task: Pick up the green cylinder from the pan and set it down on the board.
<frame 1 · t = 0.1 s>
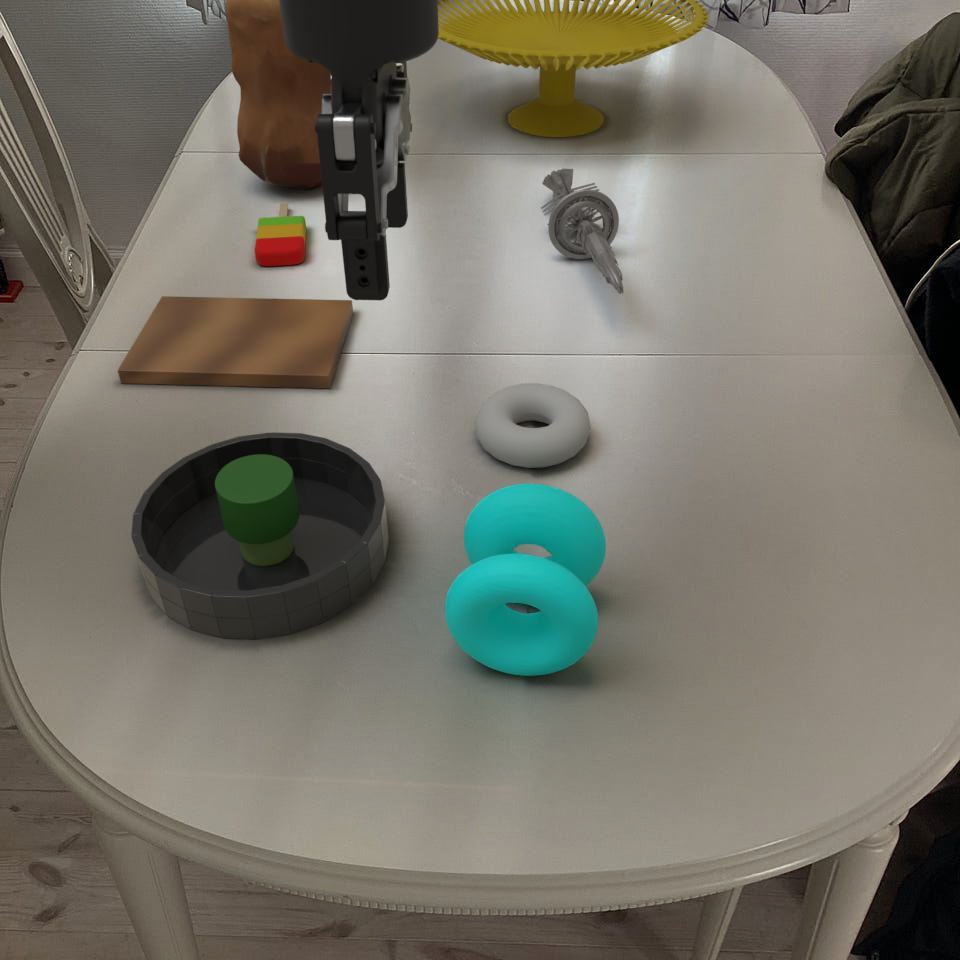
hand: (379, 259, 57), 27 cm above the table, tool pointing down, fingers open, 8 cm apart
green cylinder: (267, 548, 78), resting on pan
popsicle: (283, 238, 120), on the table
pan: (268, 550, 78), on the table
butternut squash: (299, 185, 131), on the table
spaceship: (582, 259, 115), on the table
donuts: (526, 630, 72), on the table
board: (242, 346, 101), on the table
donut: (532, 441, 89), on the table
cake stand: (555, 120, 148), on the table
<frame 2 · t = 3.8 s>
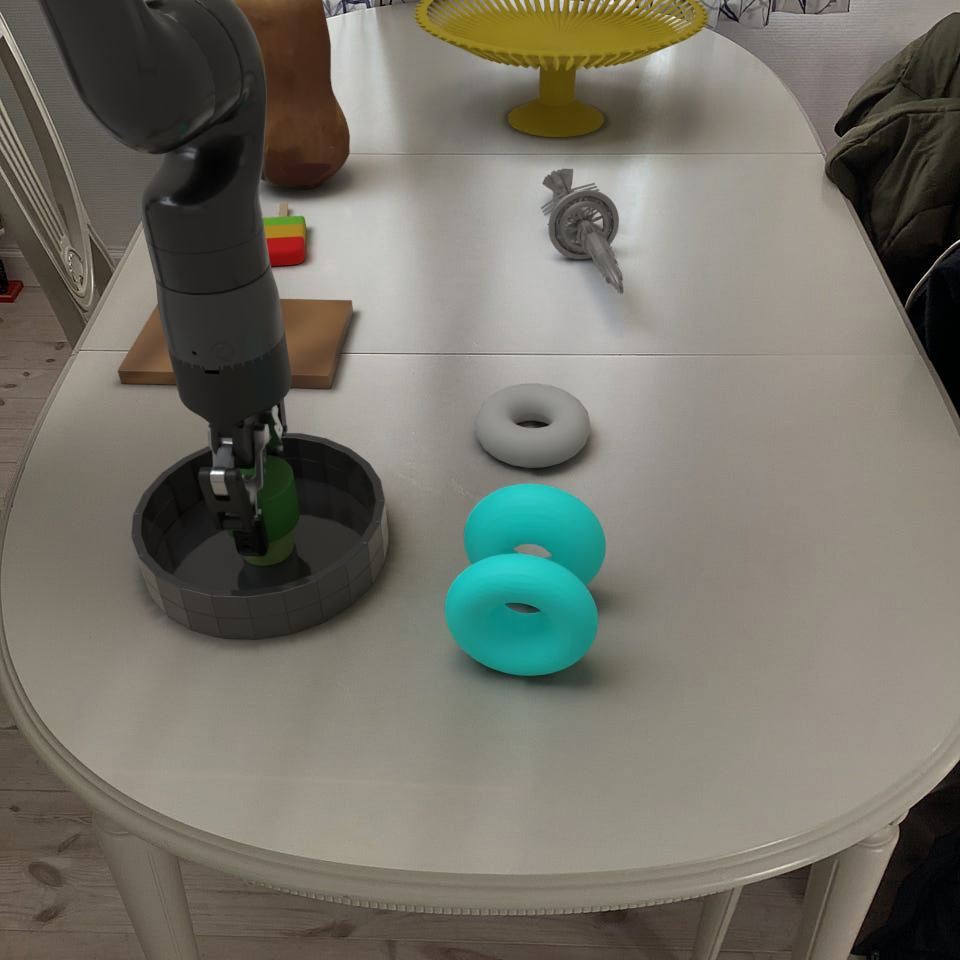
hand: (263, 523, 76), 3 cm above the table, tool pointing down, fingers closed on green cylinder, 5 cm apart
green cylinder: (267, 548, 78), resting on pan, touching gripper
everything else where it was.
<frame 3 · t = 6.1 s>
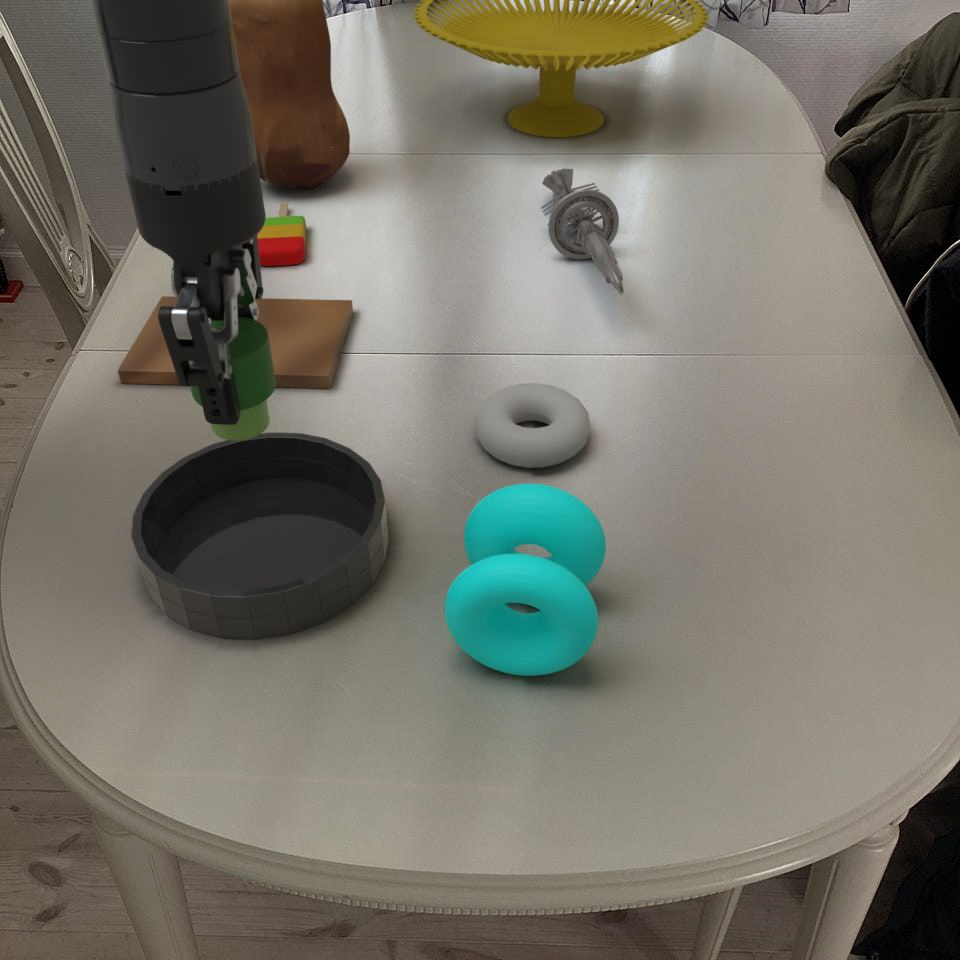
hand: (235, 393, 69), 14 cm above the table, tool pointing down, fingers closed on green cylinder, 5 cm apart
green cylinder: (240, 423, 71), point 12 cm above the table, touching gripper
everything else where it was.
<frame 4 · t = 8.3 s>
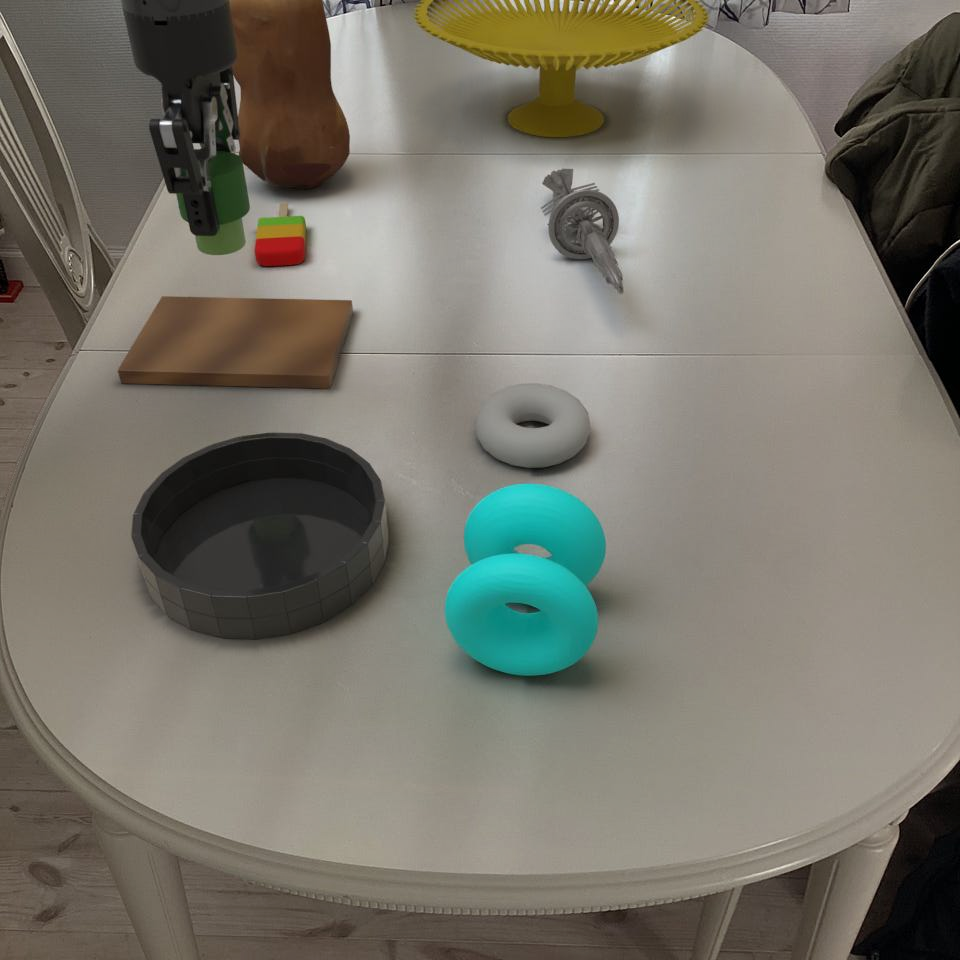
hand: (216, 216, 84), 18 cm above the table, tool pointing down, fingers closed on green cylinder, 5 cm apart
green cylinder: (221, 244, 85), point 15 cm above the table, touching gripper
everything else where it was.
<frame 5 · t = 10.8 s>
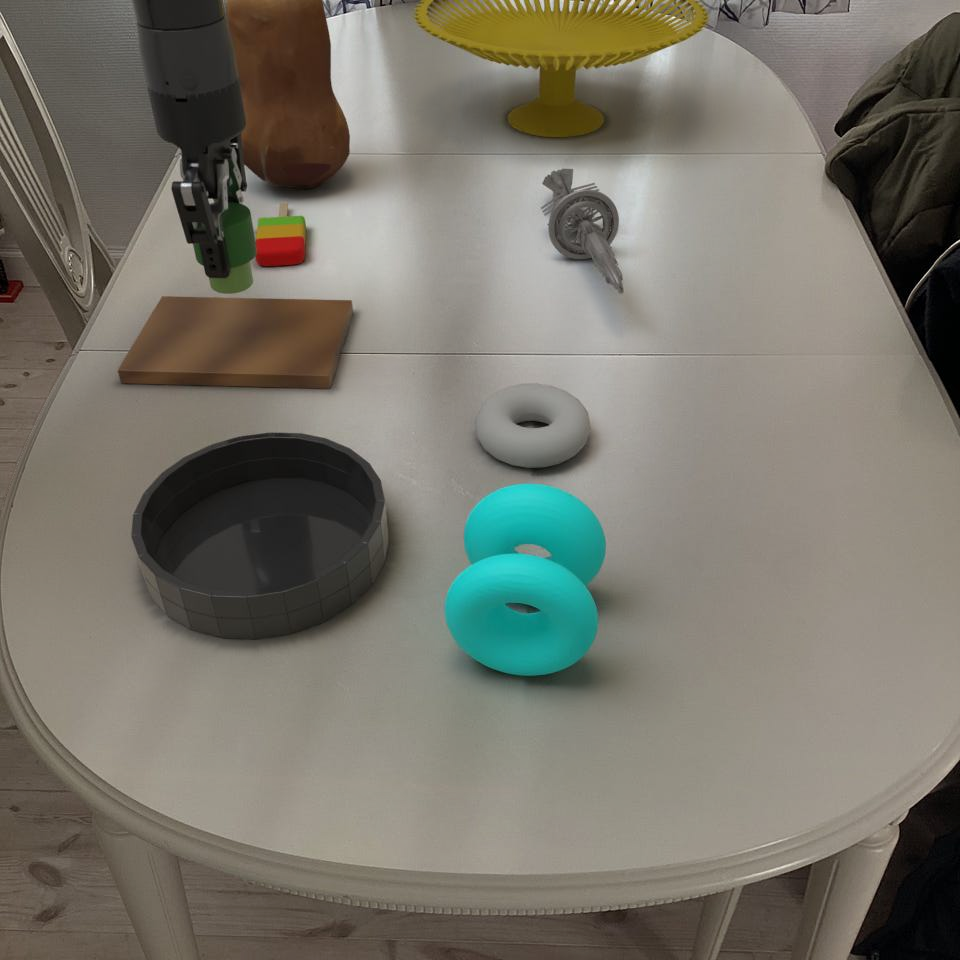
hand: (227, 259, 95), 9 cm above the table, tool pointing down, fingers closed on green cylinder, 5 cm apart
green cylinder: (232, 283, 96), point 7 cm above the table, touching gripper
everything else where it was.
when the fingers open (4 cm above the table, at t = 12.7 s): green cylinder stays where it is, resting on board.
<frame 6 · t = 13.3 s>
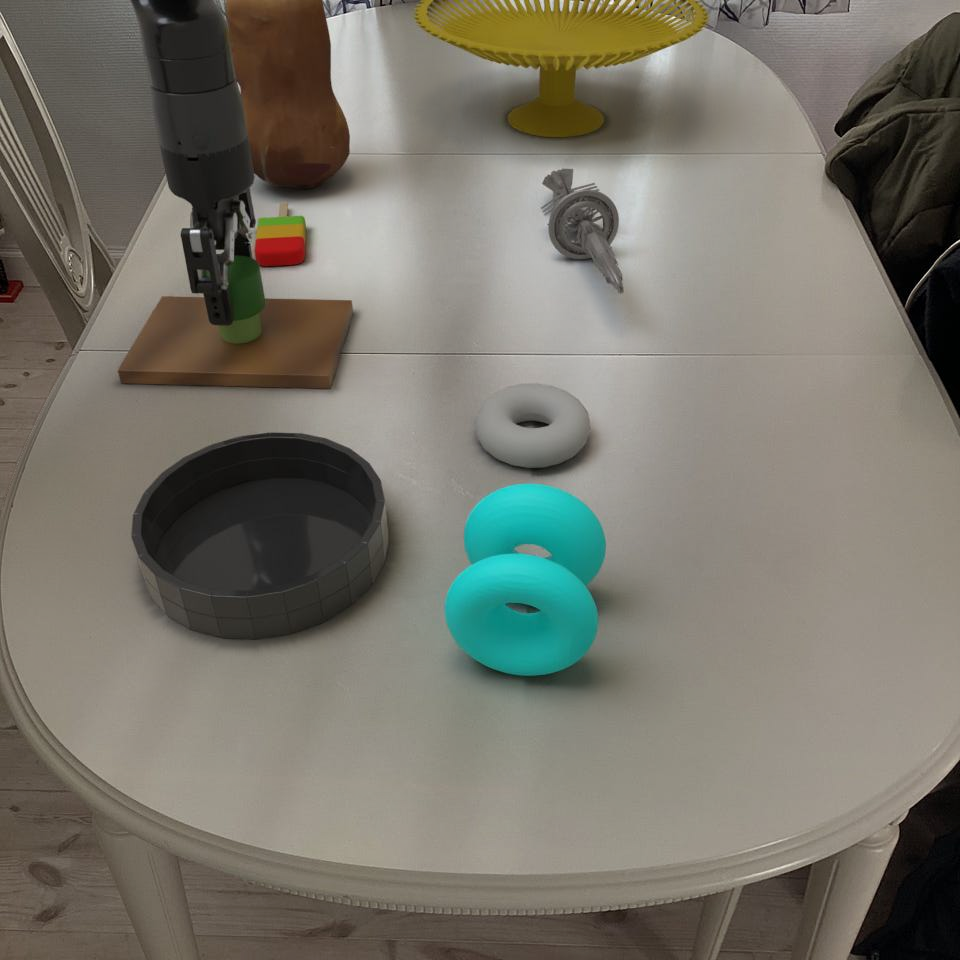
hand: (233, 300, 98), 5 cm above the table, tool pointing down, fingers open, 8 cm apart
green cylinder: (241, 333, 100), point 1 cm above the table, touching board
everything else where it was.
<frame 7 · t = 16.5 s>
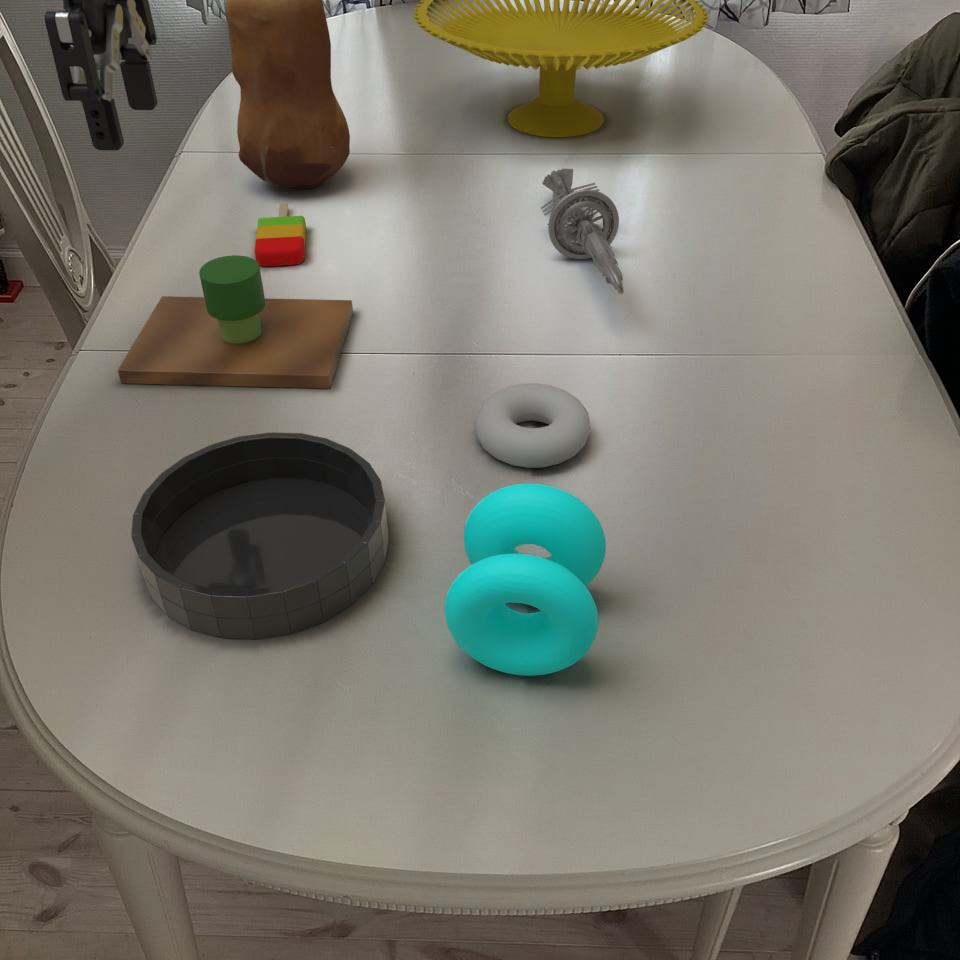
hand: (127, 127, 81), 24 cm above the table, tool pointing down, fingers open, 8 cm apart
nothing on the table moved.
at the end: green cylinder inside the target area on the board (0.1 cm from its centre), point 1.5 cm above the board's base; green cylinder touching board; the gripper is holding nothing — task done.
